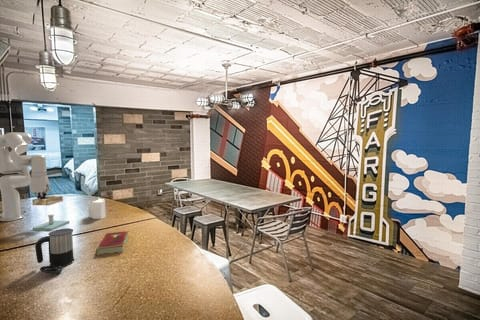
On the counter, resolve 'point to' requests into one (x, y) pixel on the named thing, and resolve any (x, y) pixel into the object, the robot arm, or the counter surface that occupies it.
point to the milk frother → (56, 250)
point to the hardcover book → (113, 242)
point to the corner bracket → (97, 209)
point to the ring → (48, 200)
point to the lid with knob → (51, 224)
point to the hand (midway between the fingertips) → (41, 202)
